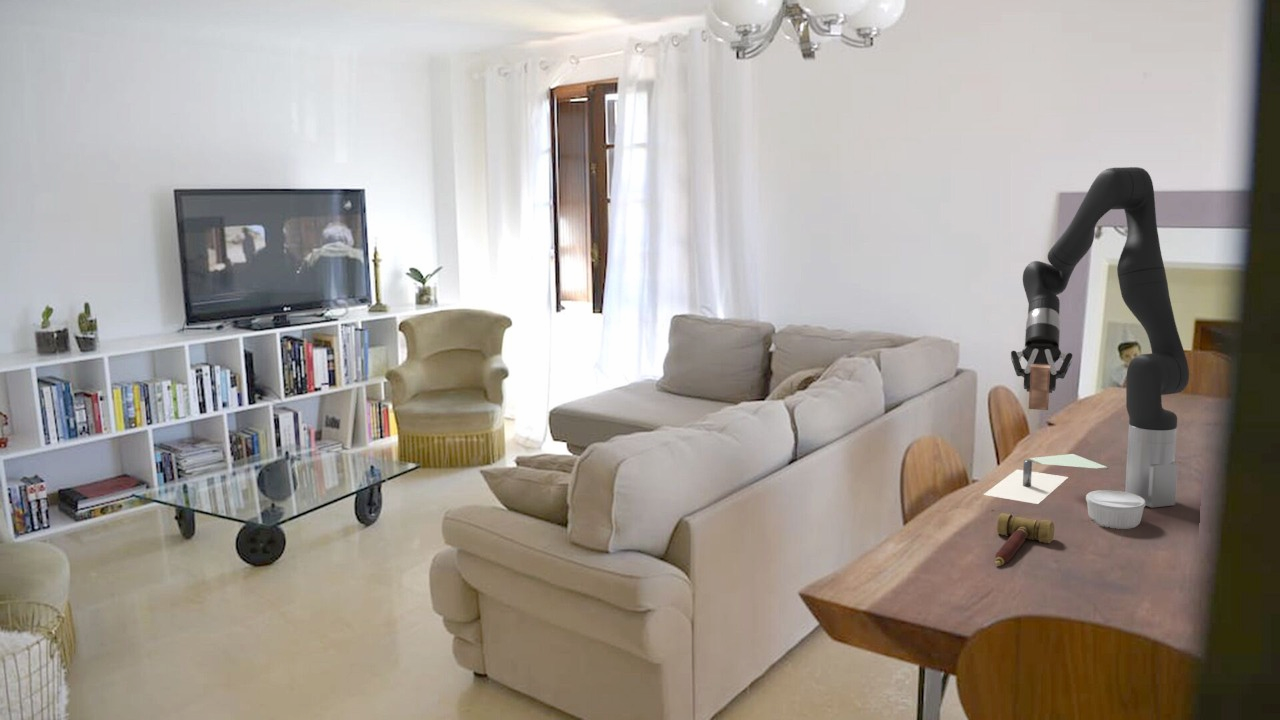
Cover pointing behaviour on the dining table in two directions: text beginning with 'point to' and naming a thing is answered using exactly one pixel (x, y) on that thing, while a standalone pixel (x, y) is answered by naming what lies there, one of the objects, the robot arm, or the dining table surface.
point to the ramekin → (1115, 508)
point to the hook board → (1026, 492)
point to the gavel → (1020, 534)
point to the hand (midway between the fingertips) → (1039, 390)
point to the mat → (1068, 461)
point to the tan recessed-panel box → (1039, 386)
